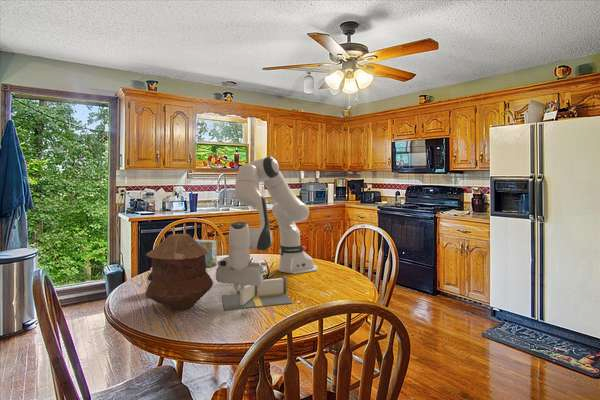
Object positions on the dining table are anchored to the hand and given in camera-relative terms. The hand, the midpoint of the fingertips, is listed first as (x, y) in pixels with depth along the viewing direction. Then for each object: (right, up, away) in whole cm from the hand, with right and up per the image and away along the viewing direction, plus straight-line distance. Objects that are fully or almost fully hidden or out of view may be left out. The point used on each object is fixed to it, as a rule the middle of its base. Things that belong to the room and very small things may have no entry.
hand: (239, 293), depth 148 cm
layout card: (+6, -4, +5) cm, 9 cm away
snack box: (-35, 0, +63) cm, 72 cm away
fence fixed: (+12, -3, +11) cm, 16 cm away
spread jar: (-39, -3, +16) cm, 43 cm away
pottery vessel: (-24, -5, -3) cm, 24 cm away
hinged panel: (+3, -3, +2) cm, 5 cm away
